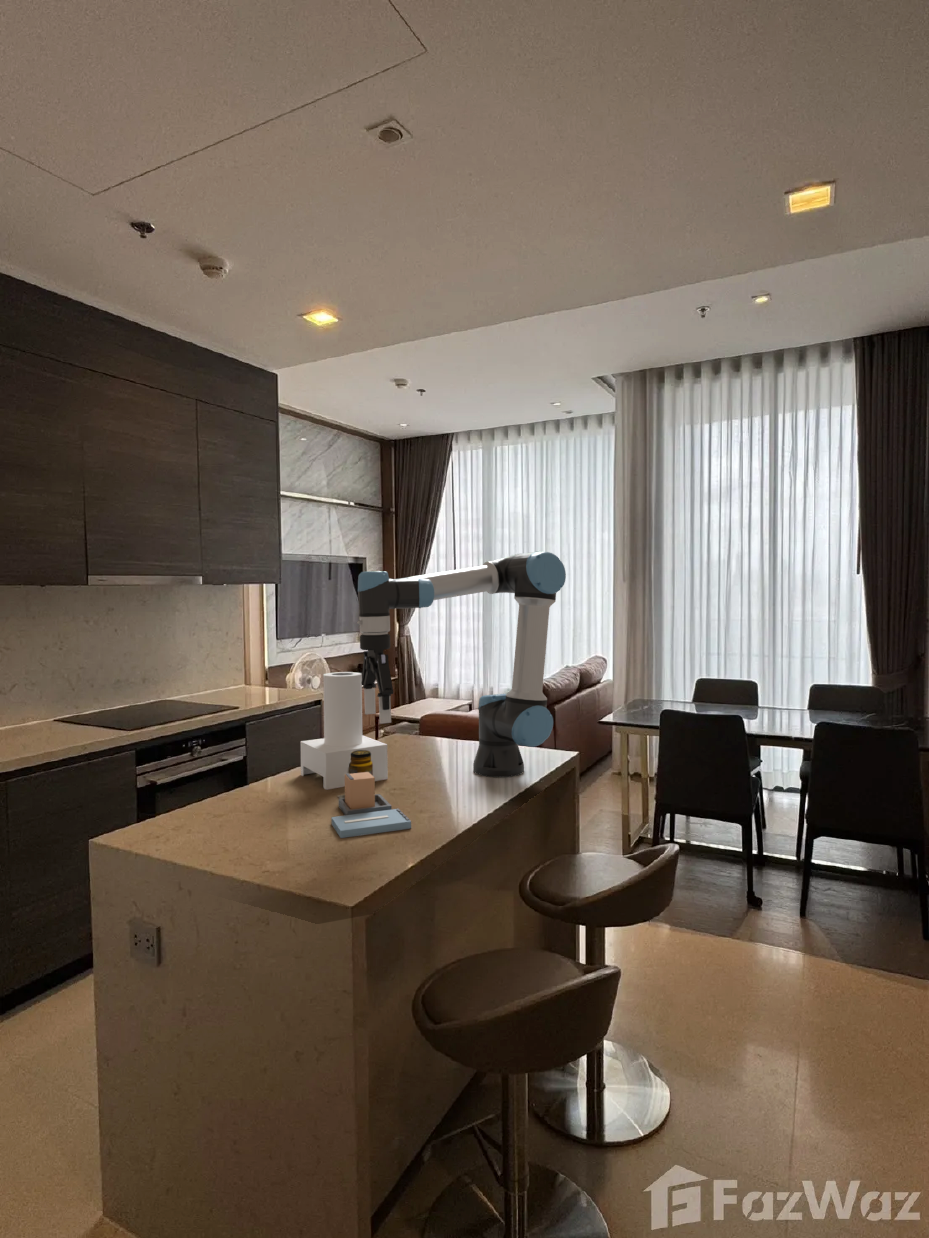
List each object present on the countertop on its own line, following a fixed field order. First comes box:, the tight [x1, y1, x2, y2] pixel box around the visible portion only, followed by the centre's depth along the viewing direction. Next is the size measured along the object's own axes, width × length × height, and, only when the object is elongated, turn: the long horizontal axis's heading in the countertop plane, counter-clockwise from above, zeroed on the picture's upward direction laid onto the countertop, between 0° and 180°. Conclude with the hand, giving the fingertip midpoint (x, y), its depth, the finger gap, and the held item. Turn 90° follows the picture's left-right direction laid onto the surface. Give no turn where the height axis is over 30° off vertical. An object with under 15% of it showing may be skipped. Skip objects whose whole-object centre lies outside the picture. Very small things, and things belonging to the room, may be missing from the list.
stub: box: [344, 772, 376, 810], centre depth 168 cm, size 6×6×8 cm
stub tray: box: [338, 793, 392, 816], centre depth 168 cm, size 11×11×2 cm
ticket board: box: [330, 808, 412, 839], centre depth 157 cm, size 16×10×2 cm, turn 112°
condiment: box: [337, 750, 373, 799], centre depth 179 cm, size 7×8×12 cm
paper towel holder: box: [300, 671, 389, 791], centre depth 199 cm, size 19×19×30 cm
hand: (377, 718), depth 172 cm, fingers open, 13 cm apart
